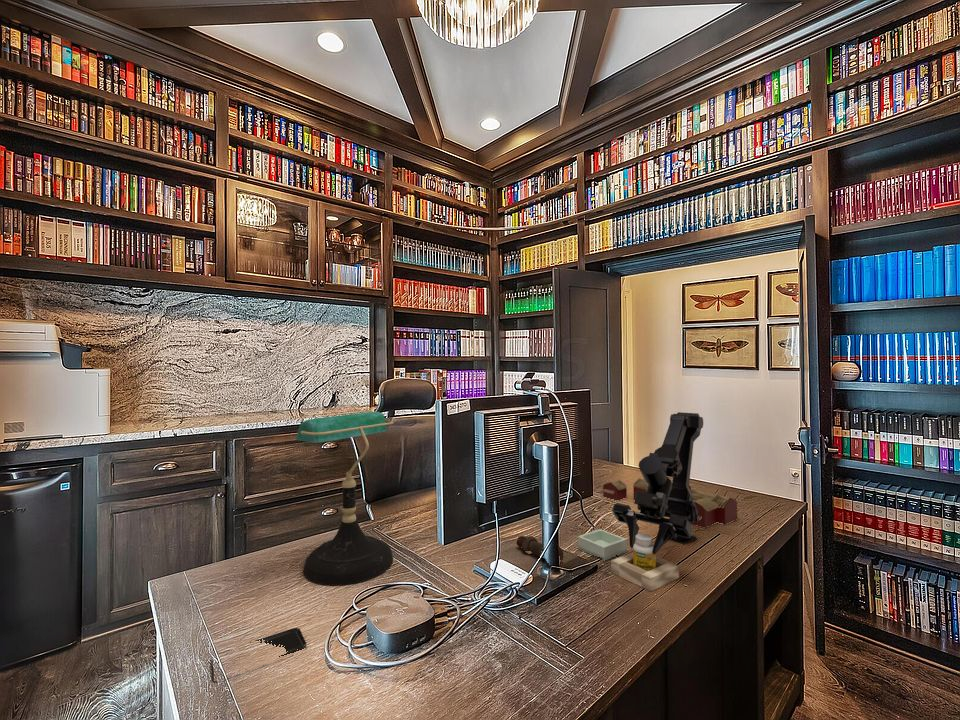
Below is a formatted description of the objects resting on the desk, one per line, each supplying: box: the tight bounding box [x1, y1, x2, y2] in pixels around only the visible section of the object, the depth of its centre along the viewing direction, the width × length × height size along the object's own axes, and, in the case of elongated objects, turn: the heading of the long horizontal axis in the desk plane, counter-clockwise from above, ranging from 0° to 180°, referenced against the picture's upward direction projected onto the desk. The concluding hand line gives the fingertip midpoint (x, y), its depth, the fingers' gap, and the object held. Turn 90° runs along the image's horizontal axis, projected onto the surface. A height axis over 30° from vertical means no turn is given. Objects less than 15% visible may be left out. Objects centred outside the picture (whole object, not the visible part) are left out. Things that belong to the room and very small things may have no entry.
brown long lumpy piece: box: [516, 535, 564, 562], centre depth 121 cm, size 6×5×15 cm
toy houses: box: [602, 477, 738, 528], centre depth 161 cm, size 45×20×10 cm, turn 36°
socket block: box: [610, 551, 680, 592], centre depth 109 cm, size 11×11×3 cm
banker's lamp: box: [295, 411, 394, 586], centre depth 117 cm, size 26×23×40 cm
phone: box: [250, 627, 307, 657], centre depth 81 cm, size 8×1×15 cm
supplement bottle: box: [632, 533, 657, 571], centre depth 109 cm, size 5×5×10 cm
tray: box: [577, 528, 628, 561], centre depth 124 cm, size 10×10×4 cm
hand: (642, 550), depth 108 cm, fingers closed on supplement bottle, 5 cm apart
